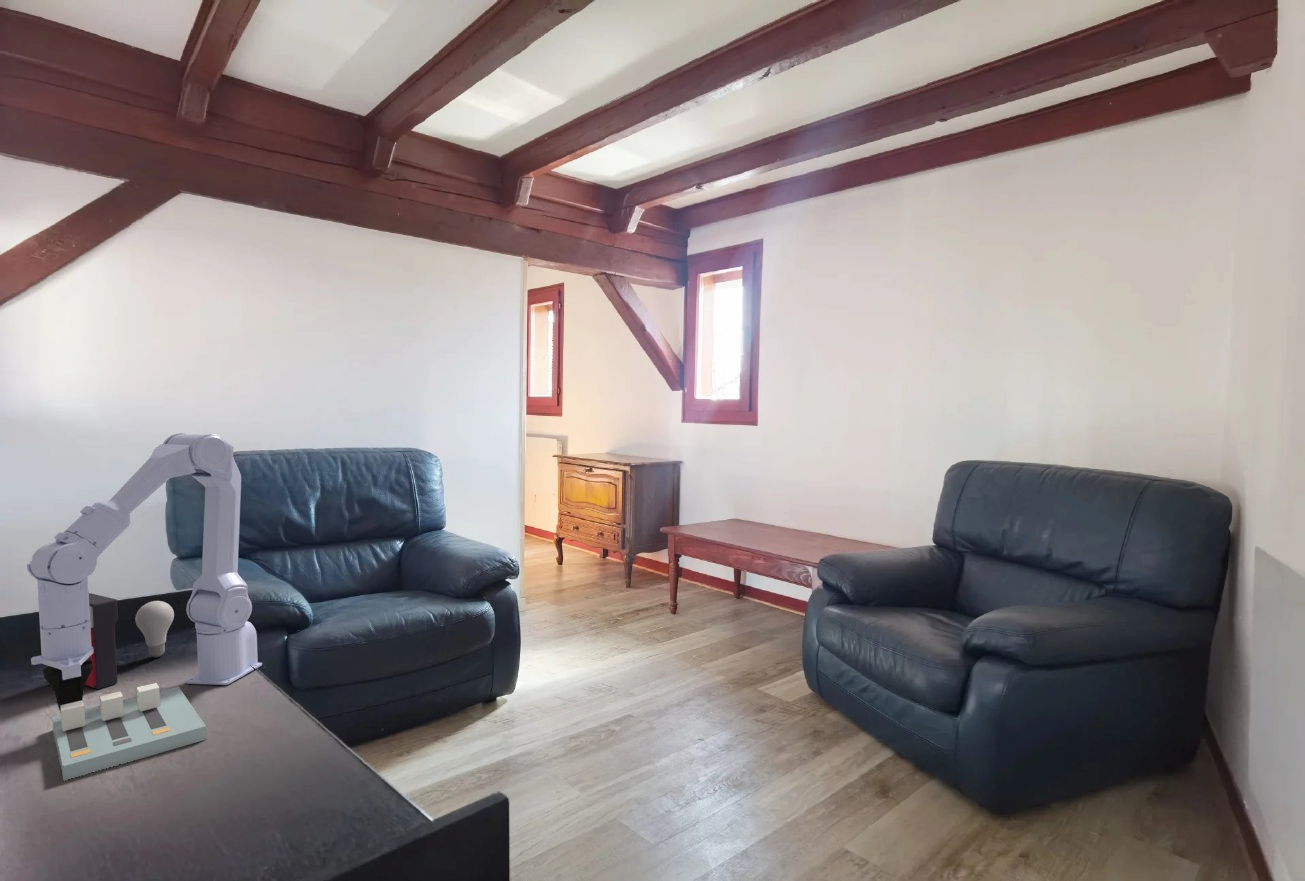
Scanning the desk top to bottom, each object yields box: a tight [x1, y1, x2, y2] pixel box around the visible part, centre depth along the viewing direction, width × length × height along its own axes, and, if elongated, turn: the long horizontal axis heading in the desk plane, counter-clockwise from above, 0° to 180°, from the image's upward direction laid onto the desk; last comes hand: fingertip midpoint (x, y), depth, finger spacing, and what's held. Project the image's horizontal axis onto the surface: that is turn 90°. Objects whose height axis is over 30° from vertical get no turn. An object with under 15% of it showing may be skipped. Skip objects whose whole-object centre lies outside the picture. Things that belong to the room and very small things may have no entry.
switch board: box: [51, 686, 208, 782], centre depth 103 cm, size 20×16×2 cm
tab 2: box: [99, 690, 124, 721], centre depth 104 cm, size 2×2×3 cm
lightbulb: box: [135, 600, 175, 658], centre depth 135 cm, size 6×6×11 cm
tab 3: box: [136, 682, 160, 712], centre depth 107 cm, size 2×2×3 cm
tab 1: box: [60, 699, 85, 731], centre depth 101 cm, size 2×2×3 cm
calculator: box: [85, 592, 119, 690], centre depth 123 cm, size 11×4×15 cm, turn 62°
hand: (70, 712), depth 104 cm, fingers closed
